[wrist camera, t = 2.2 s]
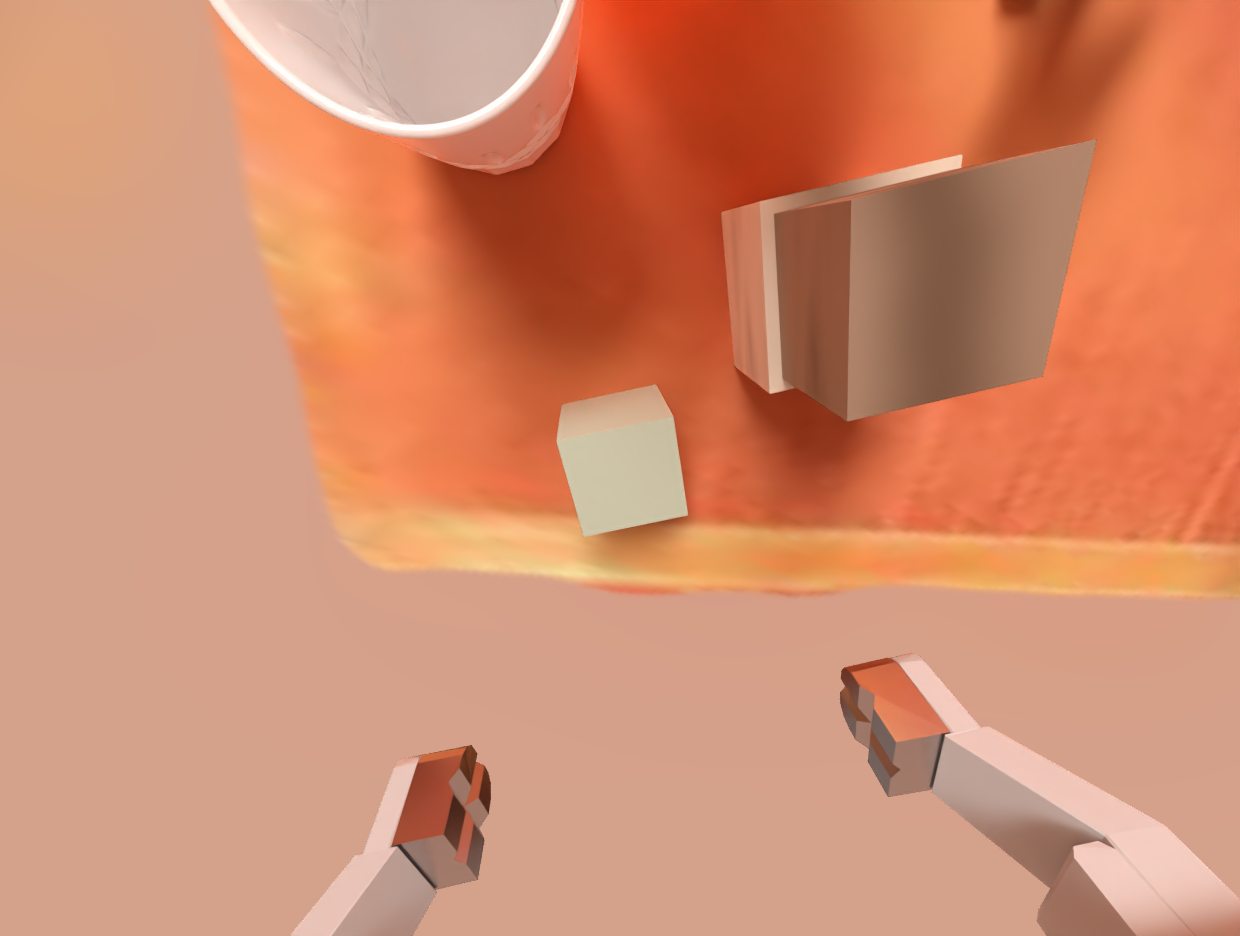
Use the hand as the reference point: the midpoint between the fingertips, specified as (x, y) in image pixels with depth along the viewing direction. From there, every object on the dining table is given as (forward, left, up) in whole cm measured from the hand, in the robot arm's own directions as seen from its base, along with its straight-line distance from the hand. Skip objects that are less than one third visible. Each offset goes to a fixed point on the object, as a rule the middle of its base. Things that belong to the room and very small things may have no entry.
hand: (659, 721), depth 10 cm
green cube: (0, 0, -16) cm, 16 cm away
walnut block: (-10, -6, -11) cm, 16 cm away
